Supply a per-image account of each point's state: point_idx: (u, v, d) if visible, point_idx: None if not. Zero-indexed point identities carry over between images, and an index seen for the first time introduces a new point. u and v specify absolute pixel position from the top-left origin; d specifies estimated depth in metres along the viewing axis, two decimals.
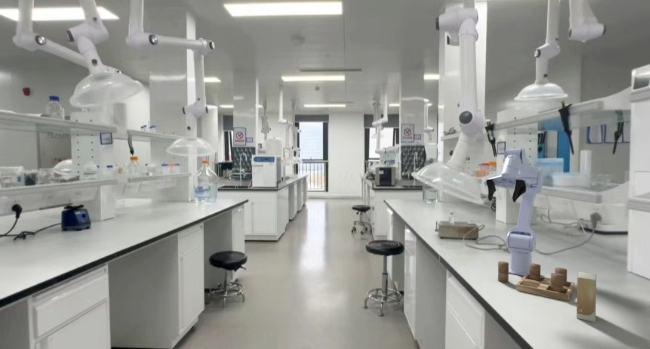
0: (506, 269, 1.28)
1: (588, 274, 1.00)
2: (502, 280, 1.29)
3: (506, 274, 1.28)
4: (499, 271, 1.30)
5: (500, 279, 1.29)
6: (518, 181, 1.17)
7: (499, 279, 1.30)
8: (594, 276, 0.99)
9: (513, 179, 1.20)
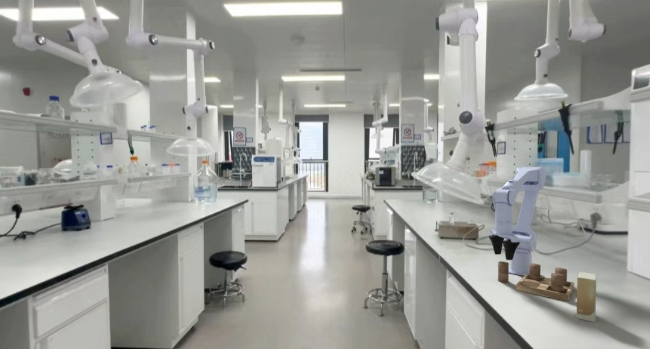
0: (506, 269, 1.28)
1: (588, 274, 1.00)
2: (502, 280, 1.29)
3: (506, 274, 1.28)
4: (499, 271, 1.30)
5: (500, 279, 1.29)
6: (503, 243, 1.25)
7: (499, 279, 1.30)
8: (594, 276, 0.99)
9: None
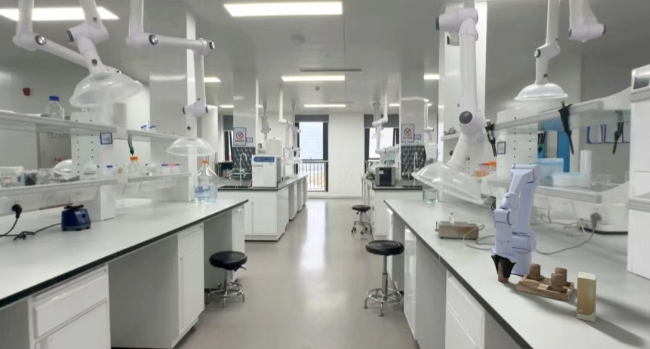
0: None
1: (588, 274, 1.00)
2: (502, 280, 1.29)
3: None
4: (499, 271, 1.30)
5: (500, 279, 1.29)
6: (500, 261, 1.27)
7: (499, 279, 1.30)
8: (594, 276, 0.99)
9: None
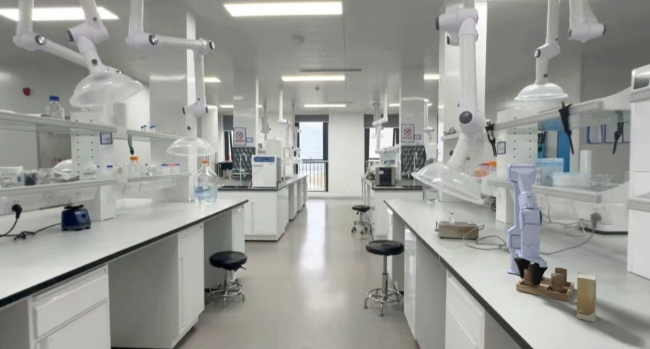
0: None
1: (588, 274, 1.00)
2: None
3: None
4: (525, 279, 1.21)
5: None
6: (530, 267, 1.17)
7: None
8: (594, 276, 0.99)
9: None
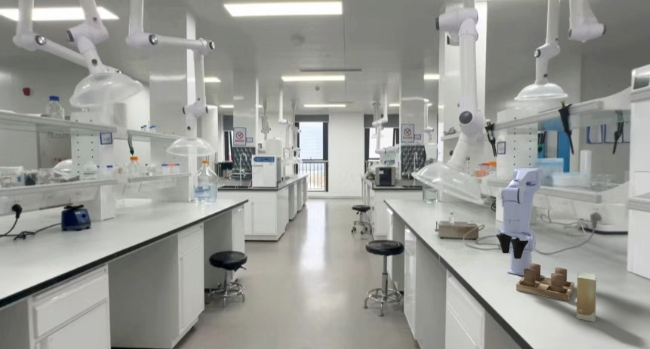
0: (533, 277, 1.19)
1: (588, 274, 1.00)
2: None
3: (533, 282, 1.20)
4: (525, 279, 1.21)
5: None
6: (512, 241, 1.24)
7: None
8: (594, 276, 0.99)
9: None
